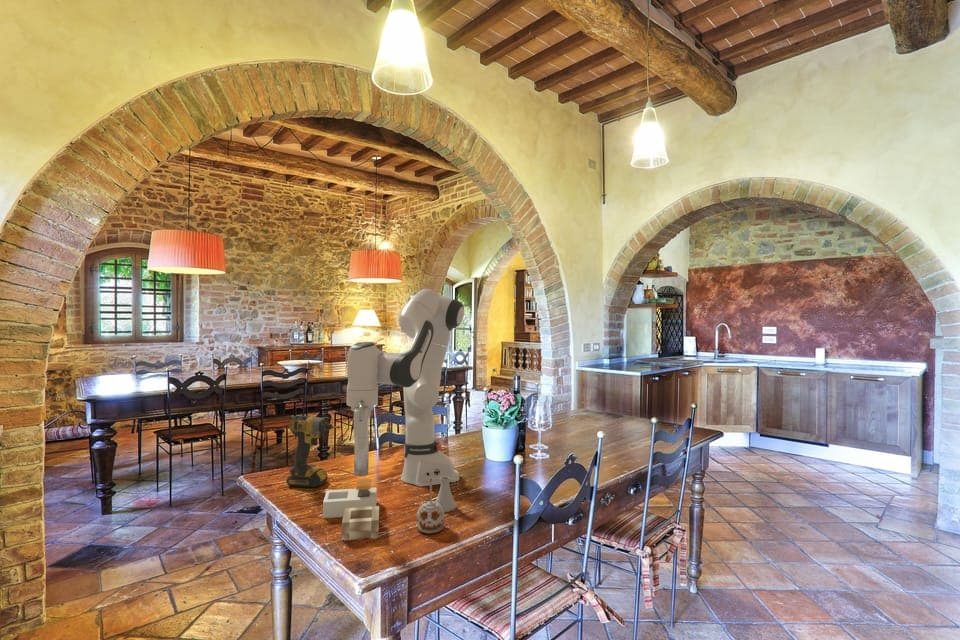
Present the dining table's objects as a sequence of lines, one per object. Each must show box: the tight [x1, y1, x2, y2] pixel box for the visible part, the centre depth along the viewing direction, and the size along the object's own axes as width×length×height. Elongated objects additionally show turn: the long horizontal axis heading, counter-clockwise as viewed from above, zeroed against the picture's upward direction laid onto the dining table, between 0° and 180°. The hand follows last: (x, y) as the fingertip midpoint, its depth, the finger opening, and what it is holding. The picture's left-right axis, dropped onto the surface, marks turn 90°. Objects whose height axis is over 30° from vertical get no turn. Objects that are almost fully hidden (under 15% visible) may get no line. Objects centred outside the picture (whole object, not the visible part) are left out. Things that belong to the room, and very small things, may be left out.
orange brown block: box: [355, 478, 372, 497], centre depth 153 cm, size 4×6×7 cm
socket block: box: [322, 486, 378, 519], centre depth 152 cm, size 16×10×5 cm, turn 101°
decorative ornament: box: [416, 478, 445, 534], centre depth 139 cm, size 8×8×15 cm
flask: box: [435, 476, 457, 513], centre depth 154 cm, size 7×7×10 cm
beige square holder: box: [341, 505, 380, 541], centre depth 137 cm, size 10×10×5 cm
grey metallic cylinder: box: [353, 431, 370, 477], centre depth 137 cm, size 4×4×12 cm
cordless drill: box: [286, 414, 342, 488], centre depth 174 cm, size 9×20×25 cm, turn 78°
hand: (361, 445), depth 137 cm, fingers closed on grey metallic cylinder, 4 cm apart
